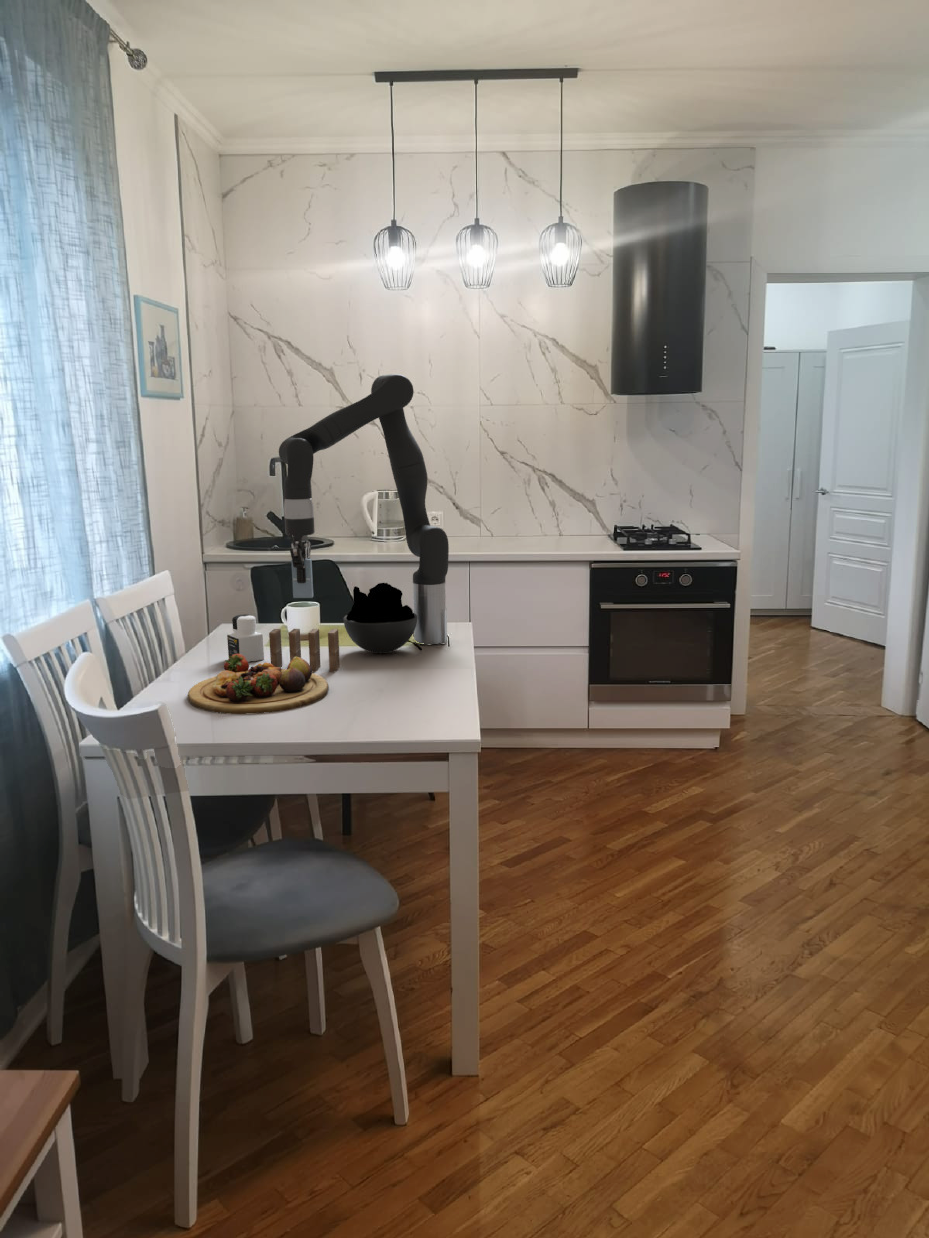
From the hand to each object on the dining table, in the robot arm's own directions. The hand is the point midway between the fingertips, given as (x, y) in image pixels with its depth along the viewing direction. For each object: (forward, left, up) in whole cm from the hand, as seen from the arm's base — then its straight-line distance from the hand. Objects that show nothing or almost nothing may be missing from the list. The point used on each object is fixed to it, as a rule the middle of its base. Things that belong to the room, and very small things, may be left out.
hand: (302, 582), depth 253 cm
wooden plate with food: (+3, +35, -22) cm, 41 cm away
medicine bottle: (+16, +1, -21) cm, 26 cm away
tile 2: (-10, +11, -21) cm, 26 cm away
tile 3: (-5, +11, -21) cm, 24 cm away
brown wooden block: (+5, +11, -21) cm, 24 cm away
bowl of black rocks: (-19, -8, -21) cm, 29 cm away
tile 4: (0, +11, -21) cm, 24 cm away
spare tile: (0, 0, -4) cm, 4 cm away
